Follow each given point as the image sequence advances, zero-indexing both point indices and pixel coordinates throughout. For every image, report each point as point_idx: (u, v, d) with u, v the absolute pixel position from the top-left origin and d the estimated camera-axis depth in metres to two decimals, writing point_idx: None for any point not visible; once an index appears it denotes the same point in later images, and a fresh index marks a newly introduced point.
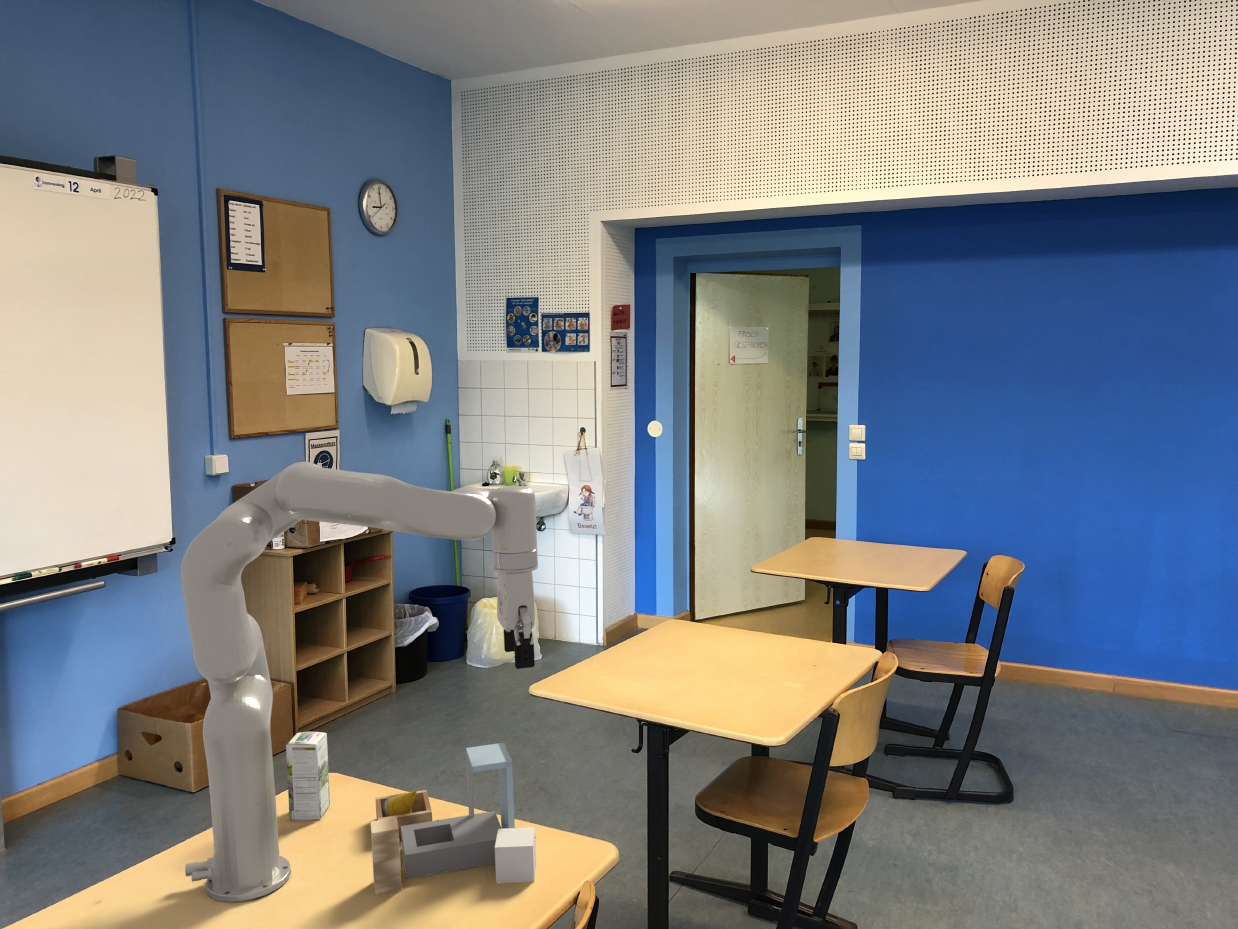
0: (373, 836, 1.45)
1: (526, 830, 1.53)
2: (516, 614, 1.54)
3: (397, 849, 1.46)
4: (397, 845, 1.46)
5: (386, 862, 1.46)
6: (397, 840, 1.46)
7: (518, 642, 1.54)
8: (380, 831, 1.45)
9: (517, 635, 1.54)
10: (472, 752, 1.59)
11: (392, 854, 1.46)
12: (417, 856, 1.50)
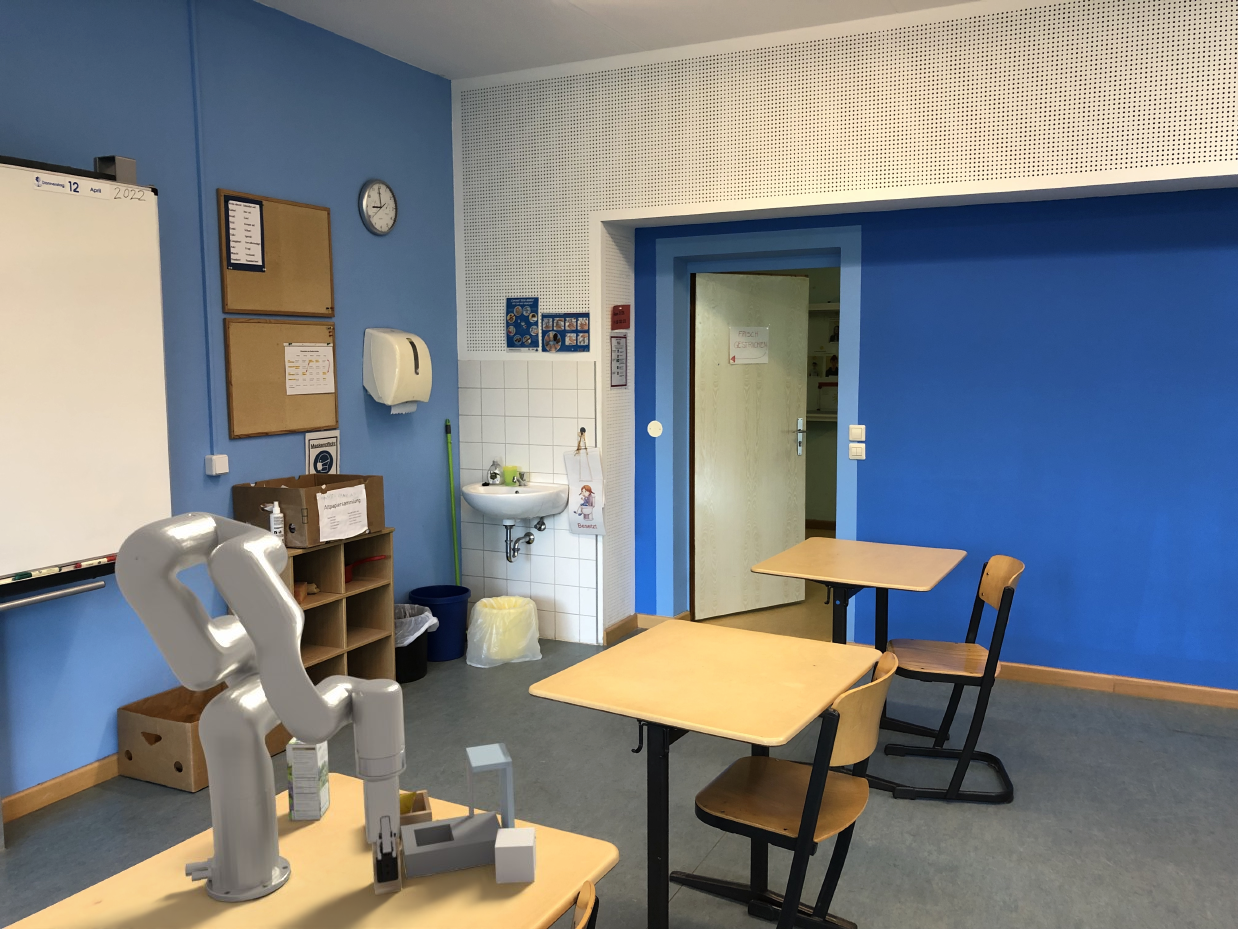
0: None
1: (527, 830, 1.53)
2: (377, 826, 1.42)
3: (397, 849, 1.46)
4: (397, 844, 1.46)
5: None
6: (397, 840, 1.46)
7: (379, 858, 1.44)
8: None
9: (378, 850, 1.44)
10: (472, 752, 1.59)
11: None
12: (417, 856, 1.50)
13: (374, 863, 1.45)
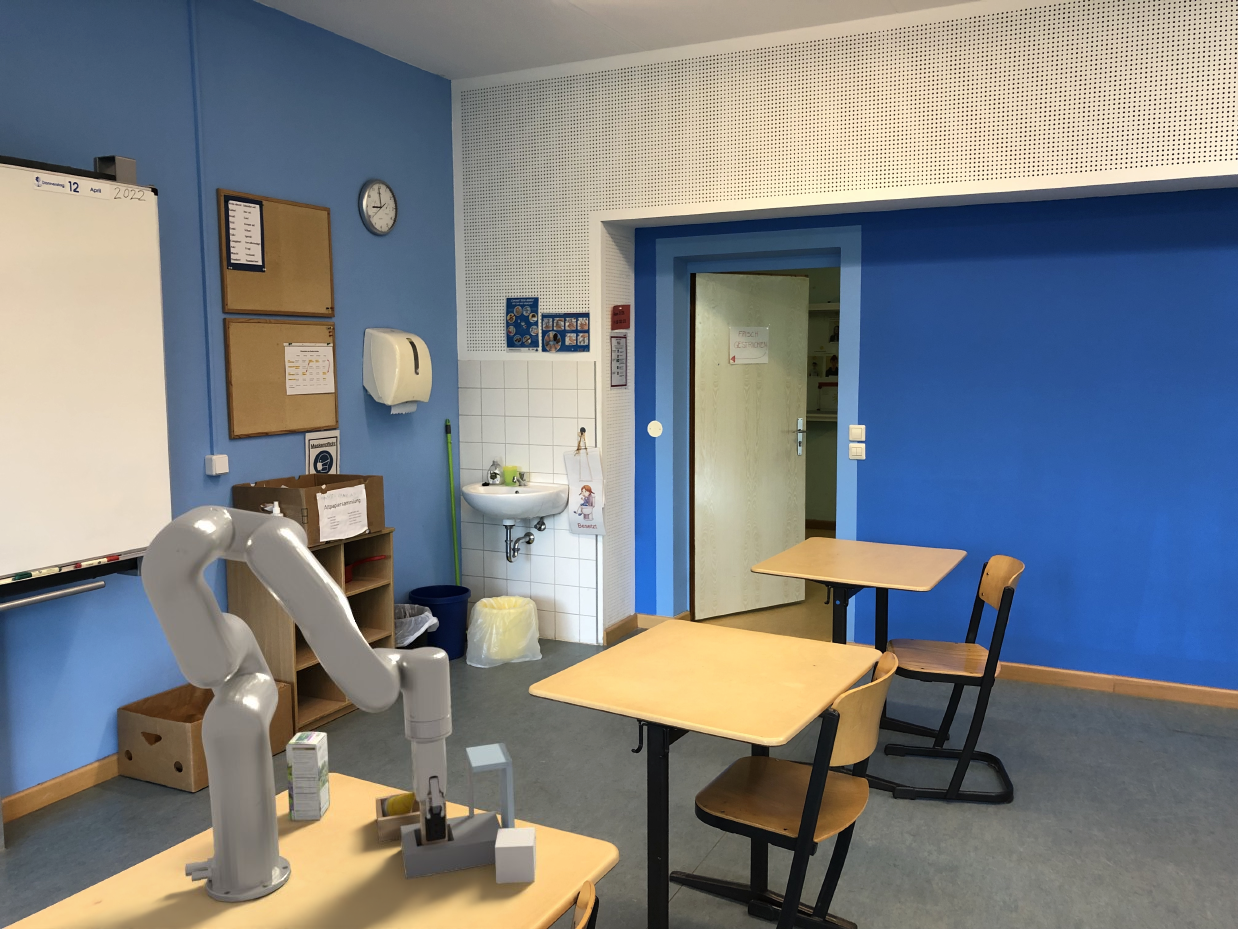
0: (422, 809, 1.53)
1: (527, 830, 1.53)
2: (427, 785, 1.49)
3: None
4: (445, 817, 1.54)
5: None
6: (445, 813, 1.54)
7: (428, 816, 1.50)
8: (429, 804, 1.53)
9: (427, 808, 1.50)
10: (472, 752, 1.59)
11: None
12: (417, 856, 1.50)
13: (423, 835, 1.53)
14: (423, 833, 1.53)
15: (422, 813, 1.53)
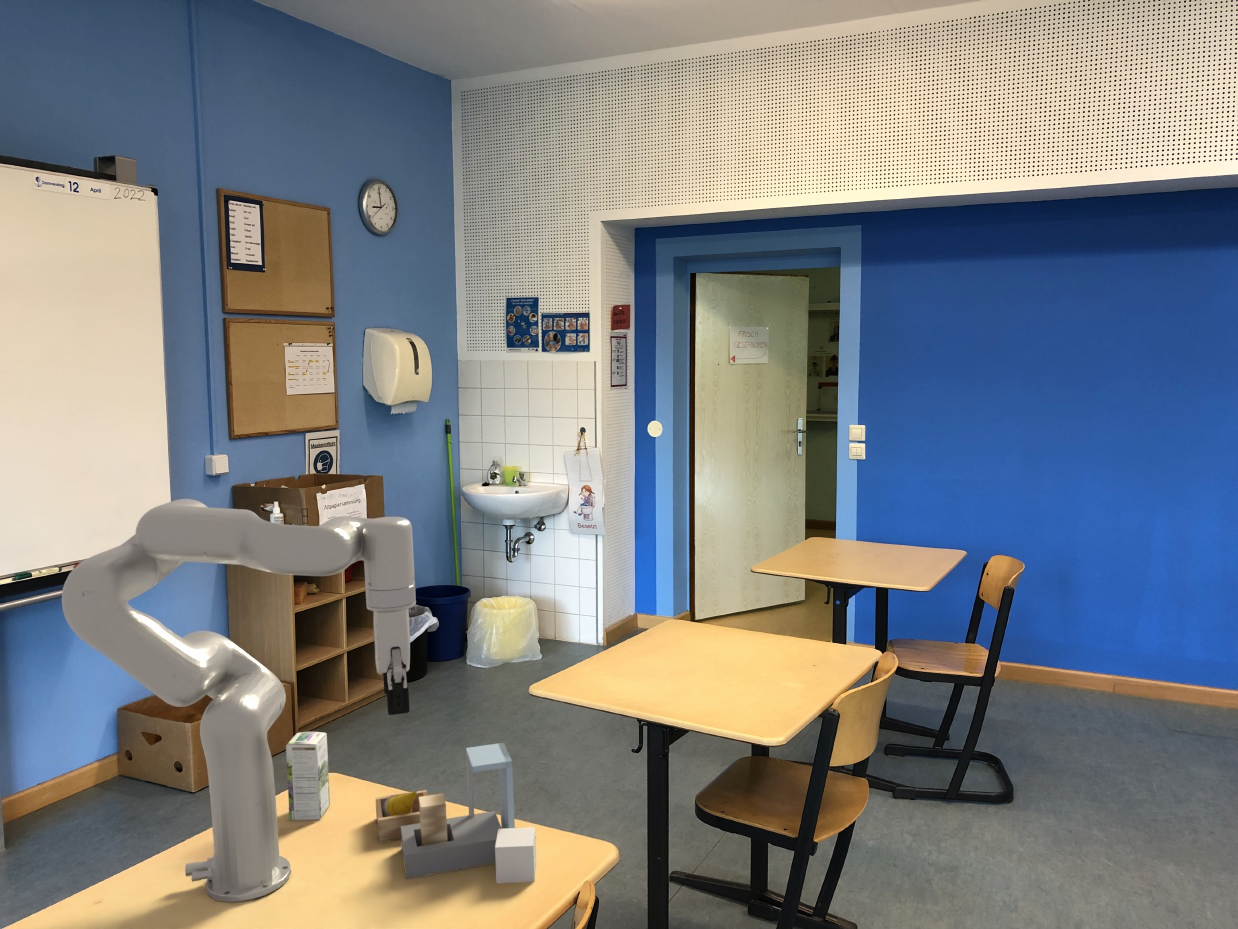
0: (422, 810, 1.53)
1: (527, 830, 1.53)
2: (388, 656, 1.43)
3: (444, 823, 1.54)
4: (444, 818, 1.54)
5: (434, 835, 1.54)
6: (444, 814, 1.54)
7: (390, 686, 1.42)
8: (429, 805, 1.53)
9: (389, 679, 1.43)
10: (472, 752, 1.59)
11: (440, 827, 1.54)
12: (417, 856, 1.50)
13: (423, 836, 1.53)
14: (423, 834, 1.53)
15: (422, 814, 1.53)
